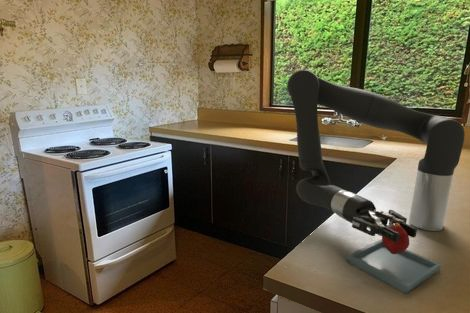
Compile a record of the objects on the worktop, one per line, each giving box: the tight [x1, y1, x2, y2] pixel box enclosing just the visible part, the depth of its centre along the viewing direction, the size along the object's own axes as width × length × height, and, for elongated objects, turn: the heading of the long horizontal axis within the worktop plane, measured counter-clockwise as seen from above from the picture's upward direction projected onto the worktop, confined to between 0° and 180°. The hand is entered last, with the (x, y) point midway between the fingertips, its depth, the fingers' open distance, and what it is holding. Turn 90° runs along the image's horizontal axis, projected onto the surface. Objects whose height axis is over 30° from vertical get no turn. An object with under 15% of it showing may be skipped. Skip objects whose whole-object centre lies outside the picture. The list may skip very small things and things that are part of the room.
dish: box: [346, 238, 442, 295], centre depth 82 cm, size 15×15×2 cm
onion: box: [381, 223, 410, 254], centre depth 80 cm, size 6×6×8 cm
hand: (406, 235), depth 78 cm, fingers closed on onion, 5 cm apart
